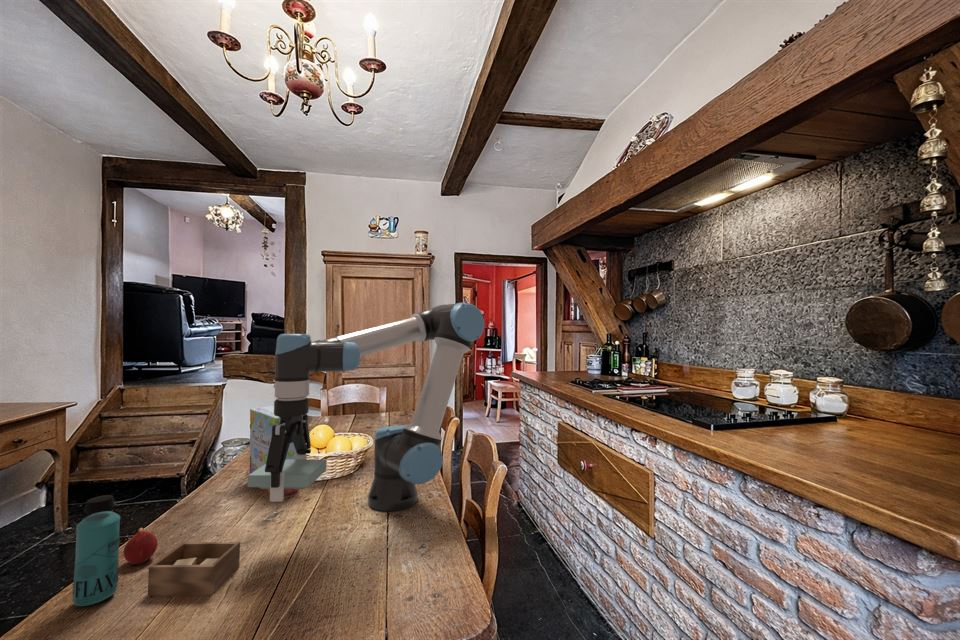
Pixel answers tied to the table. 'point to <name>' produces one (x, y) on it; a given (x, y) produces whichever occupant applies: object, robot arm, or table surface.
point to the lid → (290, 474)
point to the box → (194, 569)
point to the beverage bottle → (96, 553)
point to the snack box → (264, 439)
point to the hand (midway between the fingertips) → (289, 490)
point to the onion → (140, 547)
